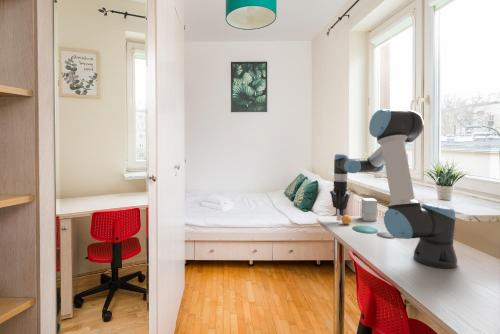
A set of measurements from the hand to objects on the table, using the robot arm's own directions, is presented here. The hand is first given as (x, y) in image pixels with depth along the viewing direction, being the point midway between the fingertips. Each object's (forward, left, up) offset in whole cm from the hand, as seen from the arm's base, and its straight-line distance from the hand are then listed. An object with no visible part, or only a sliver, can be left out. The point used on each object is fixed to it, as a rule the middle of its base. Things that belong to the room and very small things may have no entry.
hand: (339, 220), depth 174 cm
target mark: (-17, 0, -1) cm, 17 cm away
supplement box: (-7, -20, -2) cm, 21 cm away
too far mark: (-29, 0, -1) cm, 29 cm away
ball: (-5, 0, +1) cm, 5 cm away
